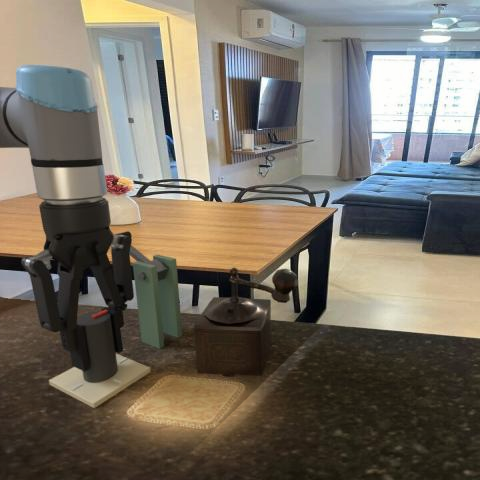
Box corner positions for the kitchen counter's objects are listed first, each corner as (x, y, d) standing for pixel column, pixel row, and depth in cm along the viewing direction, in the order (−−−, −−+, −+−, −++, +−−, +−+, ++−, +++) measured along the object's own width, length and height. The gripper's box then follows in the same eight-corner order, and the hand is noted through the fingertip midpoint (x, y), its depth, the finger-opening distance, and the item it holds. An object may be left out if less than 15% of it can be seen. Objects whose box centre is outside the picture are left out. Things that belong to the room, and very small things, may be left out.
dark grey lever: (98, 245, 65) (101, 233, 63) (125, 238, 69) (127, 227, 68) (147, 286, 61) (150, 274, 60) (171, 276, 66) (174, 265, 65)
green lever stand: (121, 349, 65) (109, 263, 61) (163, 326, 73) (155, 248, 69) (162, 366, 61) (153, 274, 57) (202, 340, 69) (197, 258, 65)
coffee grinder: (193, 383, 57) (184, 272, 52) (214, 343, 68) (208, 248, 63) (296, 387, 57) (297, 275, 52) (301, 347, 68) (302, 251, 63)
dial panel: (50, 392, 55) (48, 379, 54) (108, 360, 62) (107, 348, 62) (95, 416, 50) (93, 402, 50) (151, 378, 58) (150, 366, 58)
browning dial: (96, 386, 53) (87, 326, 50) (76, 377, 55) (66, 319, 52) (124, 369, 57) (117, 313, 54) (105, 361, 59) (96, 306, 56)
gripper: (116, 187, 58) (133, 325, 64) (-25, 206, 43) (15, 384, 49) (151, 192, 55) (165, 337, 61) (12, 214, 40) (50, 403, 46)
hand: (98, 357), depth 55 cm, fingers closed on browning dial, 4 cm apart
